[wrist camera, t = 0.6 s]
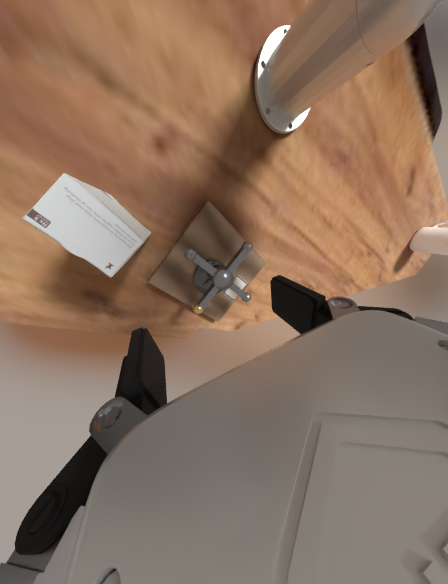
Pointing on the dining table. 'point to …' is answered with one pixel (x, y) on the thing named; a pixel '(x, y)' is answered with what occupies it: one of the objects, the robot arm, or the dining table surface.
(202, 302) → the capstan
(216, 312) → the board
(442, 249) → the mug
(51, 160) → the dining table surface
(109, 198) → the skincare box
